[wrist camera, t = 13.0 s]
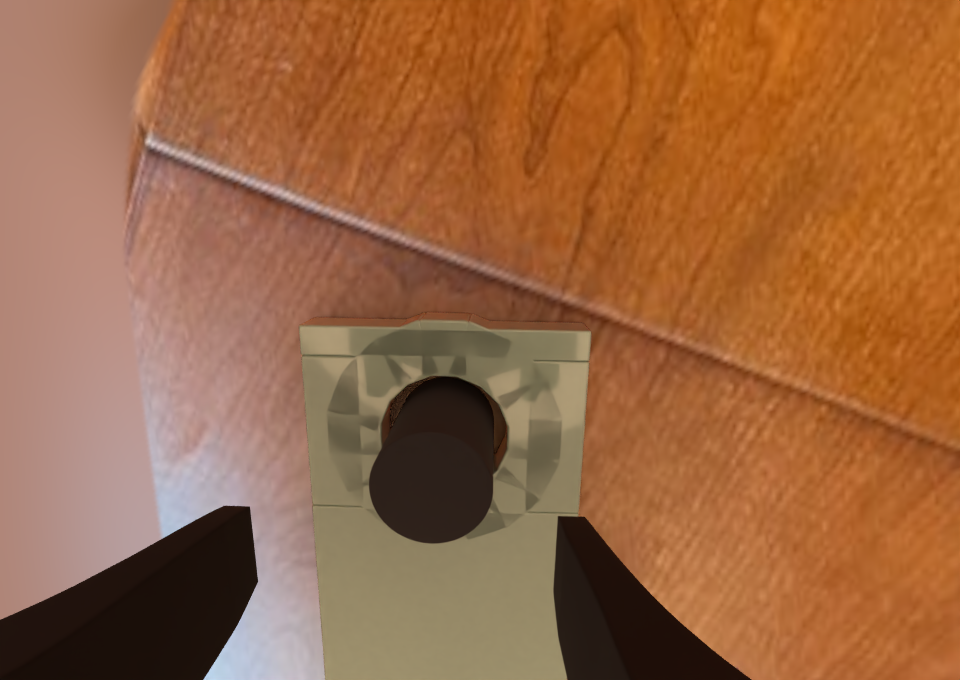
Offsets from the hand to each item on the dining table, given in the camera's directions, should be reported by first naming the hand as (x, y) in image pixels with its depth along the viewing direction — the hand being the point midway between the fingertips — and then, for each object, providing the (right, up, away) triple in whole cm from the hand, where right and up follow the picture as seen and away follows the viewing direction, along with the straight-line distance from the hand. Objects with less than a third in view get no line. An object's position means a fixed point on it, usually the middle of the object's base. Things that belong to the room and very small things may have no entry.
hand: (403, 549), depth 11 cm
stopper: (0, +2, +8) cm, 8 cm away
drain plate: (0, -4, +9) cm, 10 cm away
